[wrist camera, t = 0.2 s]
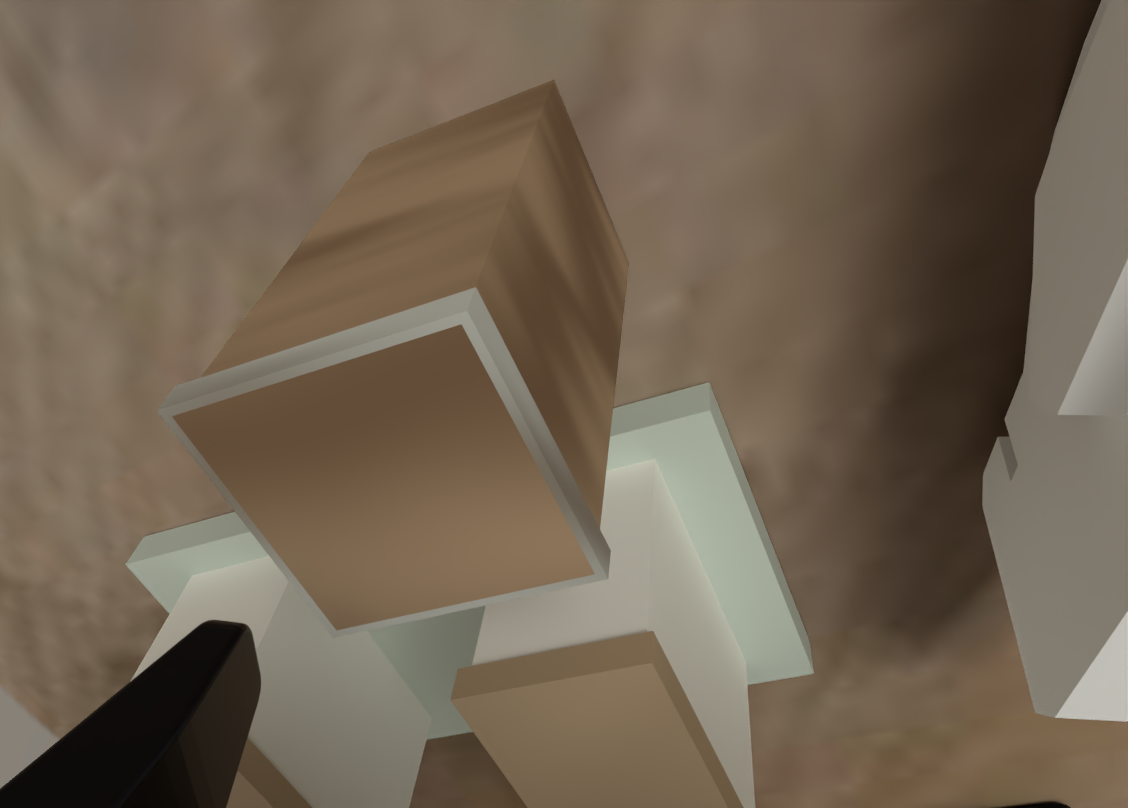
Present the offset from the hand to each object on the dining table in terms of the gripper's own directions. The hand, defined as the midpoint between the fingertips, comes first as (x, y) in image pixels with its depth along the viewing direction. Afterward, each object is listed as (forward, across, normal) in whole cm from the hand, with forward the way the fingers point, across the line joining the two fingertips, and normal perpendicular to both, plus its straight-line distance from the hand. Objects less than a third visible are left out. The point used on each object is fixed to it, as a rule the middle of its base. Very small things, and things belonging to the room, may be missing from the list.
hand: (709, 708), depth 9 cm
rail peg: (+14, +4, +2) cm, 15 cm away
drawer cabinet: (+14, +5, +14) cm, 20 cm away
